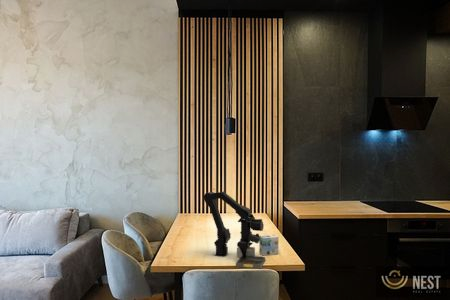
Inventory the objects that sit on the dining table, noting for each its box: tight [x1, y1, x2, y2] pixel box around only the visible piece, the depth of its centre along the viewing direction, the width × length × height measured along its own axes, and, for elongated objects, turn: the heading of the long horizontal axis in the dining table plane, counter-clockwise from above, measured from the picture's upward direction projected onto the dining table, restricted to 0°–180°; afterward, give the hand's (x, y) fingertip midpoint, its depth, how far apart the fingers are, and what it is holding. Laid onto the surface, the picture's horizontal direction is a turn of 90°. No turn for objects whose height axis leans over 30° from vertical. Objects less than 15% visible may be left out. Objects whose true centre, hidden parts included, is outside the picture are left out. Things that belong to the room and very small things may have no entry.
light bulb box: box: [258, 234, 280, 256], centre depth 226 cm, size 11×7×11 cm, turn 103°
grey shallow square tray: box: [235, 255, 266, 269], centre depth 206 cm, size 14×15×2 cm
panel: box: [236, 246, 256, 259], centre depth 218 cm, size 10×4×6 cm, turn 74°
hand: (245, 256), depth 217 cm, fingers open, 6 cm apart
